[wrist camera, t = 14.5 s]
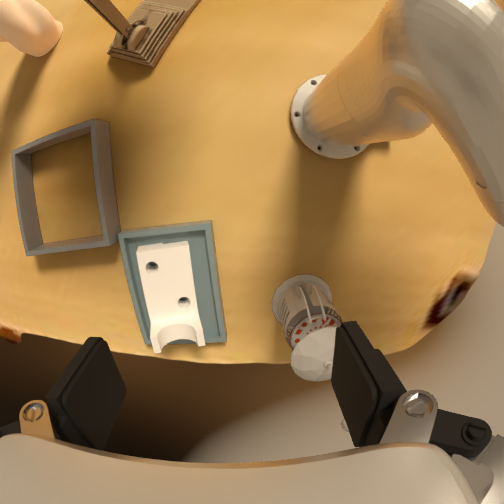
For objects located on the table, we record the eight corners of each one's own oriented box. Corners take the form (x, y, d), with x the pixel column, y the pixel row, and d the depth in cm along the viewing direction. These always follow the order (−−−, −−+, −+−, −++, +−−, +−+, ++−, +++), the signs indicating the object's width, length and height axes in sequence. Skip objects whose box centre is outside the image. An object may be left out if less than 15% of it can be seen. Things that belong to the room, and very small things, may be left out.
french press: (278, 335, 45) (305, 466, 21) (262, 272, 42) (287, 398, 18) (335, 320, 45) (398, 437, 21) (326, 256, 41) (413, 358, 17)
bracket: (198, 319, 43) (205, 345, 36) (154, 325, 41) (154, 353, 35) (186, 239, 40) (191, 253, 33) (138, 246, 38) (132, 262, 31)
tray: (211, 220, 39) (210, 223, 37) (227, 334, 44) (226, 341, 42) (123, 230, 39) (117, 233, 37) (148, 337, 44) (145, 344, 42)
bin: (109, 122, 34) (95, 118, 30) (122, 237, 39) (110, 245, 35) (27, 150, 34) (11, 151, 29) (41, 248, 39) (26, 256, 35)
